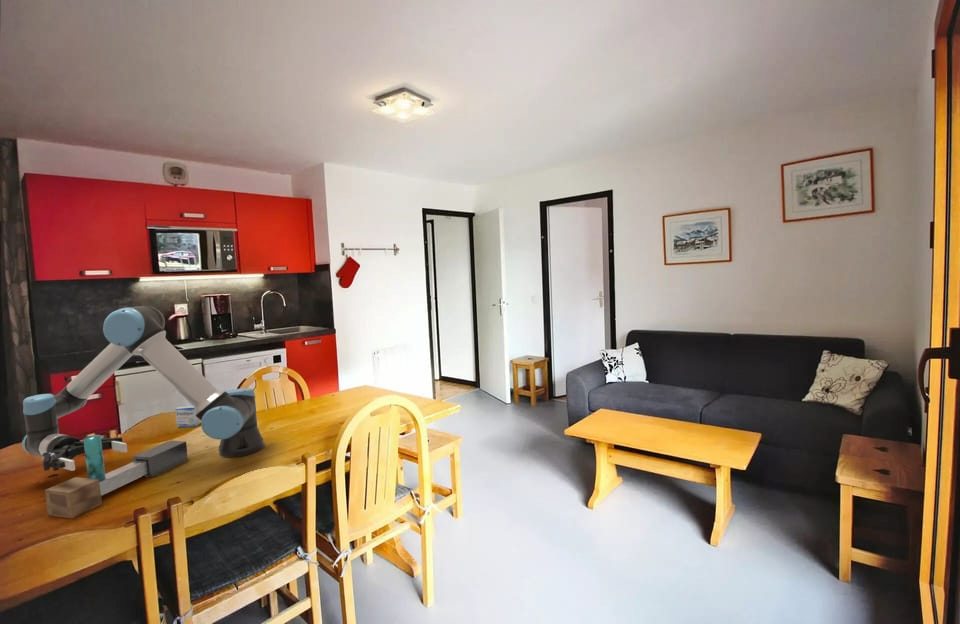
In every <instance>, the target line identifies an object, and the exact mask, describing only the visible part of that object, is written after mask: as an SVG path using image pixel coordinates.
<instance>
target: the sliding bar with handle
mask: <svg viewBox="0 0 960 624" xmlns="http://www.w3.org/2000/svg"><path fill="white" fill-rule="evenodd" d="M101 439H102V437H101V434H93V435H87V436H86V437H83V439H82V442H84V450H85V454H84V455H85V457H84V458H85V463H86V474H87V478H89V479H99V484H100V492H101V497H102V496H105V495H106V494H108V493H110V492H113V491H115V490H117V489H119V488H121V487H123V486H125V485H127V484H129V483H131V482H133V481H135V480H138V479H139V478H143V477H142V476H144V475H146V474H148V473H149V466H148V460H140V459H139V460H137V461H134V460H133V461H132V462H130V463H128V464H126V465H123V466H120V467H118V468H116V469H114V470H111V471H108V472H107V473H106V468H105V461H104V454H103V453H104V452H103V450H102V443H101Z"/></svg>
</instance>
